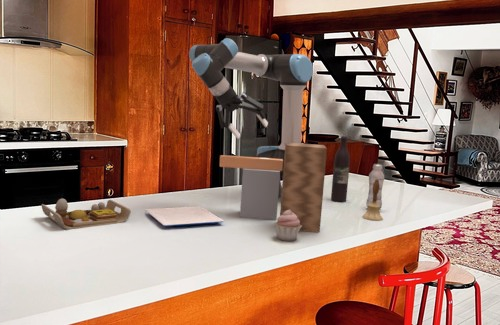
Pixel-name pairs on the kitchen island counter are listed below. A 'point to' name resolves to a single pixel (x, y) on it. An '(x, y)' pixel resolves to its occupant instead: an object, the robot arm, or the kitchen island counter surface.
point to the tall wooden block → (304, 183)
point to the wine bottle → (341, 173)
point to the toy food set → (87, 215)
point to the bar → (251, 162)
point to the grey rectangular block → (259, 194)
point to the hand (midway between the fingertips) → (252, 131)
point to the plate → (183, 216)
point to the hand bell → (373, 205)
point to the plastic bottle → (373, 176)
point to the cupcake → (287, 226)
